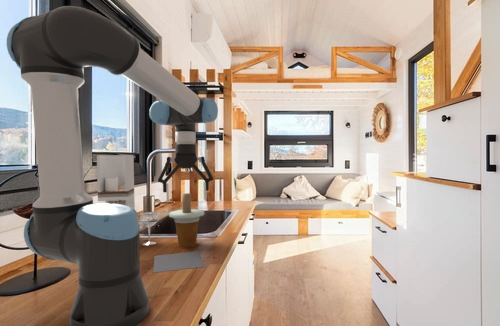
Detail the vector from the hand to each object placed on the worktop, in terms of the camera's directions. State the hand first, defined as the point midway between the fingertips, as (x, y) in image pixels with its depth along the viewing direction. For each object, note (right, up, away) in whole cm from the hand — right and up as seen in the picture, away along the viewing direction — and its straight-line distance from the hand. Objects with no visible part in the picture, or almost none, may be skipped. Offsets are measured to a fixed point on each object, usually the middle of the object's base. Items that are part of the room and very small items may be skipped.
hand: (186, 200), depth 107 cm
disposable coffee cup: (0, -18, 0) cm, 18 cm away
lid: (0, -5, 0) cm, 6 cm away
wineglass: (-16, -18, +5) cm, 24 cm away
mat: (+1, -18, -16) cm, 24 cm away
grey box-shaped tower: (-28, -18, +6) cm, 34 cm away
